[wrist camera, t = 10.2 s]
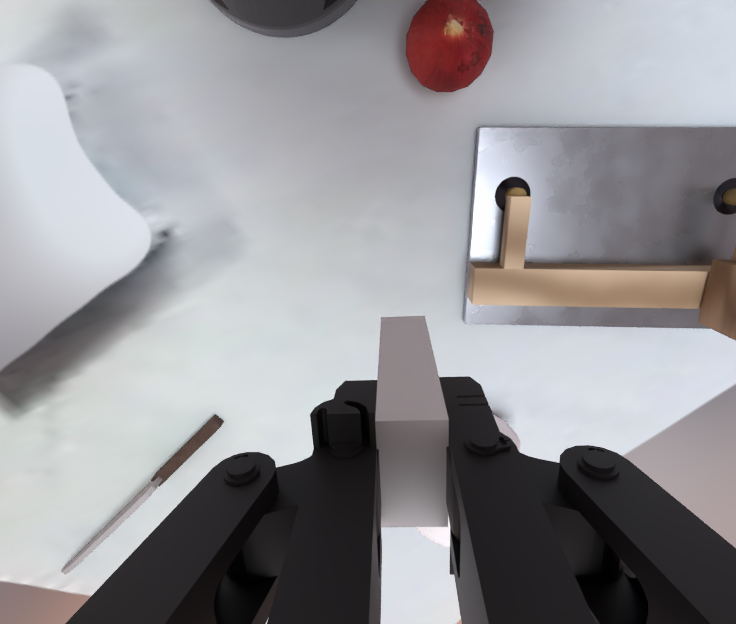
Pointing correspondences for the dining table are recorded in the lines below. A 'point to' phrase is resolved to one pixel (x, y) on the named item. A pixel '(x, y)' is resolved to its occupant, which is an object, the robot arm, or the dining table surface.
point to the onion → (449, 43)
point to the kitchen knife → (150, 487)
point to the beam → (576, 276)
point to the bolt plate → (604, 209)
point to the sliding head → (721, 290)
